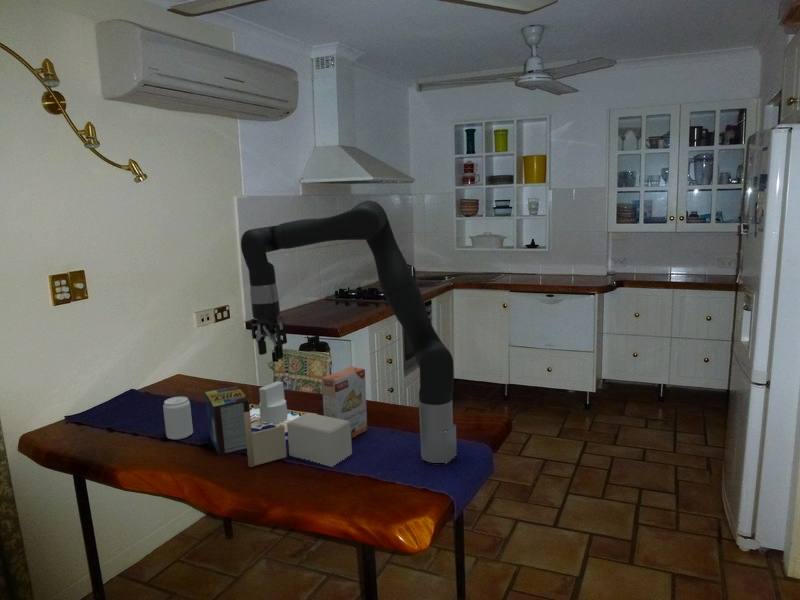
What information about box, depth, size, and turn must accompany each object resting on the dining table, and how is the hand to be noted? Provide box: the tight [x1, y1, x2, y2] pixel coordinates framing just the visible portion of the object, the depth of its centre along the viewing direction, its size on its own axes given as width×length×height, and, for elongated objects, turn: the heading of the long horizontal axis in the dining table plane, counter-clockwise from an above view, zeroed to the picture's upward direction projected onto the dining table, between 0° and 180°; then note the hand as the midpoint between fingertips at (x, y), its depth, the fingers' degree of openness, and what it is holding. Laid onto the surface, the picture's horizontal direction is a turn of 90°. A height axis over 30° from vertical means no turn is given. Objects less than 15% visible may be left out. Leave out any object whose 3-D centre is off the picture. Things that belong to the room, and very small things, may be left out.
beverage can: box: [162, 396, 194, 440], centre depth 191 cm, size 8×8×12 cm
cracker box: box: [321, 366, 368, 440], centre depth 184 cm, size 14×6×21 cm, turn 143°
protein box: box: [204, 386, 253, 456], centre depth 184 cm, size 10×15×16 cm
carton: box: [286, 412, 353, 468], centre depth 173 cm, size 16×9×10 cm, turn 58°
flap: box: [244, 411, 288, 468], centre depth 169 cm, size 11×2×16 cm, turn 122°
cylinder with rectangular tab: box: [258, 380, 288, 424], centre depth 203 cm, size 9×9×12 cm
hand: (271, 356), depth 169 cm, fingers open, 8 cm apart
